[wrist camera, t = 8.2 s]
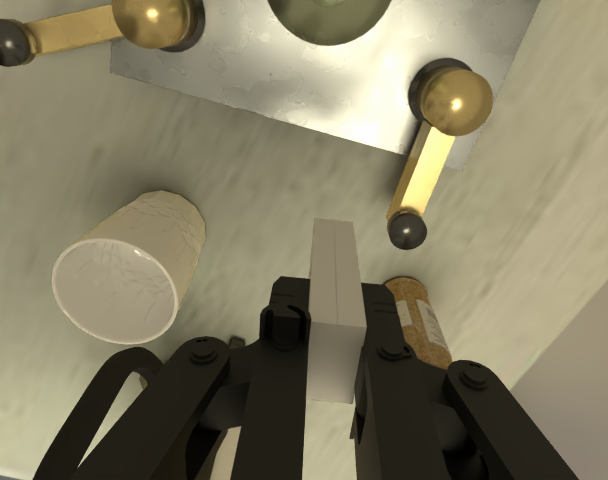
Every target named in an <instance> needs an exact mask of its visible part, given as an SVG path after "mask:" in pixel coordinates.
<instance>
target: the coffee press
mask: <svg viewBox="0 0 608 480" xmlns="http://www.w3.org/2000/svg"><path fill="white" fill-rule="evenodd" d="M245 344H246V343H245V342H242V341H239V340H236V339H234V338H232V339H231V342H230V344H229V349H232V348H239V347H244V346H245ZM163 366H164V365H163V363H162V362H161V361H160V360H159V359H158V358H157V357H156V356H155V355H154V354H153V353H152V352H150V351H149V350H147V349H145V348H142V347H133V348H129V349H126V350H123V351H120V352H118V353H116V354H114V355H113V356H111V357H110V358H109V359H108V360H107V361H106V362H105V363H104V365H103V366H102V367H101V368H100V370H99V371H98V372H97V374H96V375H95V377H94V378H93V380H92V381H91V383H90V384H89V386H88V387H87V389H86V390H85V392H84V393H83V395H82V396H81V398H80V400H79V401H78V403H77V404H76V406H75V407H74V409H73V410H72V412H71V414H70V415H69V417H68V418H67V420H66V421H65V423H64V425H63V426H62V428H61V429H60V431H59V432H58V434H57V436H56V437H55V439H54V441H53V442H52V444H51V446H50V447H49V449H48V451H47V452H46V454H45V456H44V458H43V460H42V461H41V463H40V465H39V467H38V469H37V471H36V473H35V476H34V478H33V480H68V479H69V478H70V477H71V475H72V474H73V473H74V472H75V471H76V469H77V467H78V465H79V464H80V462H81V460H82V458H83V456H84V454H85V453H86V451H87V449H88V447H89V445H90V443H91V442H92V440H93V438H94V436H95V434H96V432H97V431H98V429H99V427H100V425H101V423H102V422H103V420H104V418H105V416H106V414H107V413H108V411H109V409H110V407H111V405H112V403H113V402H114V400H115V398H116V396H117V394H118V393H119V391H120V389H121V387H122V386H123V384H124V382H125V380H126V379H127V377H128V376H129V375H130V373H131V372H133V371H134V372H137V373H139V374H140V382H141V385H142V388H143V390H144V389H145V388H146V386H147V385H148V384H149V383H150V382H151V380H152V379H153V378H154V377H155V376H156V375H157V373H158V372H159V371H160V370H161V369H162V367H163ZM240 429H241V426H240V427H235V428H230V429H228V432H227V435H226V437H225V439H224V440H223V442H222V444H221V446H220V448H219V450H218V452H217V453H216V455H215V457H214V459H213V461H212V463H211V464H210V466H209V468H208V470H207V472H206V474H205V476H204V477H203V479H202V480H230V477H231V472H232V468H233V463H234V458H235V453H236V448H237V444H238V439H239V434H240Z"/></svg>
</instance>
